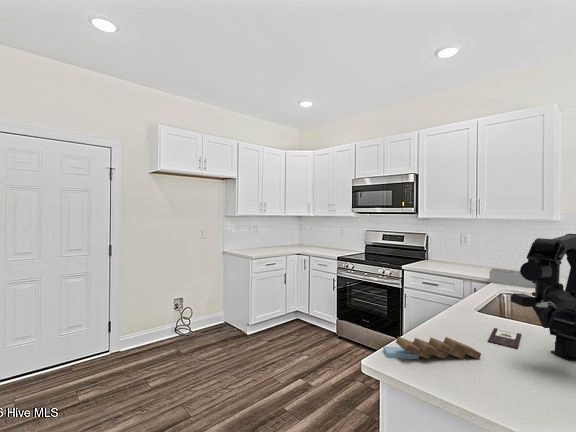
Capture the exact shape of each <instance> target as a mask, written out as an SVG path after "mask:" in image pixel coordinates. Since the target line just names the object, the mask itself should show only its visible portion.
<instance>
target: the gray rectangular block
mask: <svg viewBox="0 0 576 432" xmlns="http://www.w3.org/2000/svg"><path fill="white" fill-rule="evenodd" d="M488 274H489V283H490V284H498V285H506V286H511V287H517V286H518V288H527V289H535V283H532V281H529V280H526V279H525V278H524V277H523V276H522V275H521V273H520V270H512V269H502V268H495V267H492V268H491V269H490V270H489V273H488Z"/></svg>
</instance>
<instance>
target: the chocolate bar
mask: <svg viewBox="0 0 576 432" xmlns="http://www.w3.org/2000/svg"><path fill="white" fill-rule="evenodd" d="M521 337H522V333H519V332H514V331H510V330H507V329H506V330H505V329H501V328H497V327H494V328H493V330H492V331H491V333H490V335H489V337H488V339H487V343H490V344H494V345H497V346H501V347H506V348H509V349H514V350H518V349H519V346H520V341H521Z"/></svg>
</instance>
